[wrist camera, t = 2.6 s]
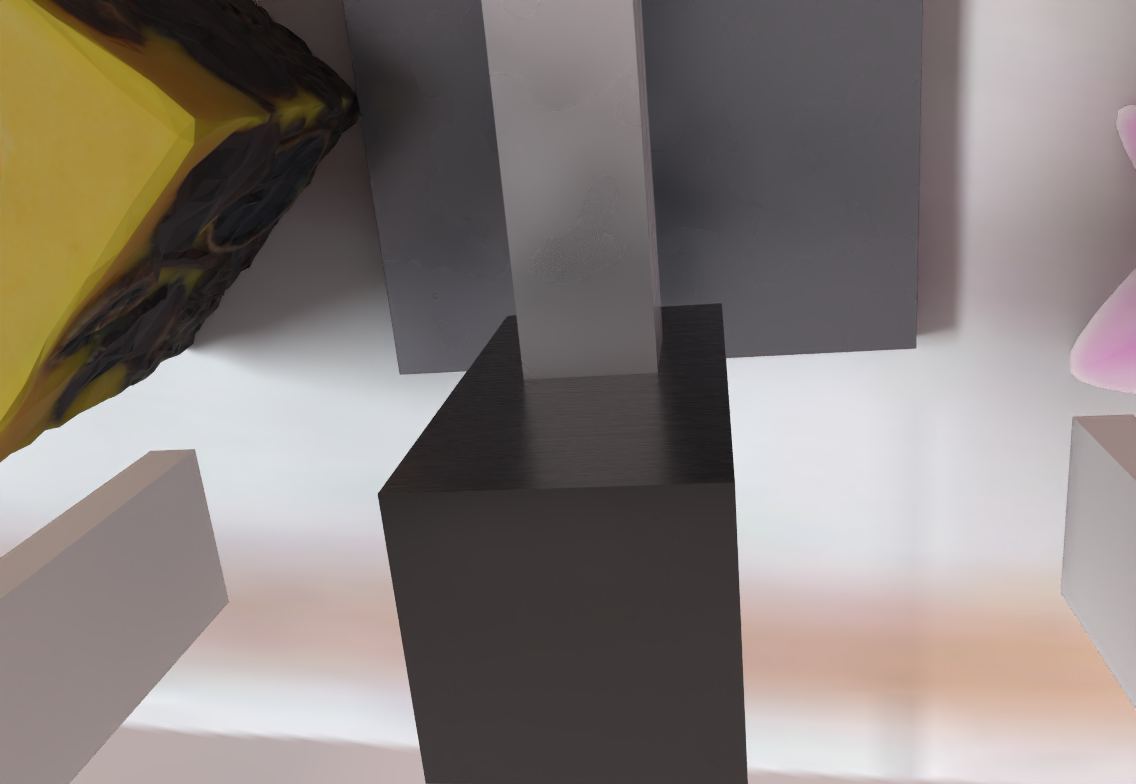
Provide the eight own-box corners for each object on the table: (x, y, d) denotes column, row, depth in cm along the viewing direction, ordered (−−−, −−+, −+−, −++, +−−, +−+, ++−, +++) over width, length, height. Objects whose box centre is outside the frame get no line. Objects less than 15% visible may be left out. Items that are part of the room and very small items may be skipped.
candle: (-98, 139, 29) (-480, 183, 20) (66, -169, 26) (-299, -293, 16) (185, 364, 30) (-47, 507, 21) (377, 98, 27) (204, 125, 18)
